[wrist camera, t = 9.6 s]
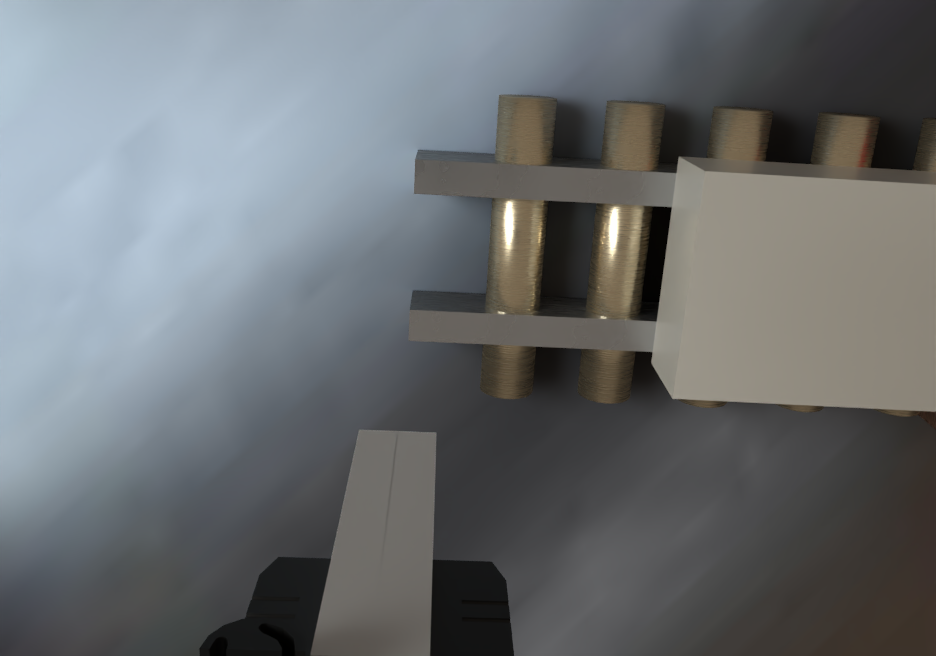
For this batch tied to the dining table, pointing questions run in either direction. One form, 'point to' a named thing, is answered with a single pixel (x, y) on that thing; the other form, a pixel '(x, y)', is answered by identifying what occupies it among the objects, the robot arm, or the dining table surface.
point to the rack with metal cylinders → (614, 240)
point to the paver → (799, 286)
